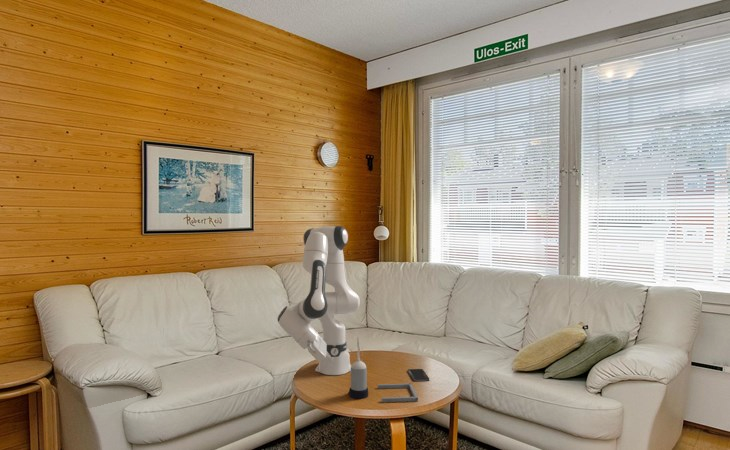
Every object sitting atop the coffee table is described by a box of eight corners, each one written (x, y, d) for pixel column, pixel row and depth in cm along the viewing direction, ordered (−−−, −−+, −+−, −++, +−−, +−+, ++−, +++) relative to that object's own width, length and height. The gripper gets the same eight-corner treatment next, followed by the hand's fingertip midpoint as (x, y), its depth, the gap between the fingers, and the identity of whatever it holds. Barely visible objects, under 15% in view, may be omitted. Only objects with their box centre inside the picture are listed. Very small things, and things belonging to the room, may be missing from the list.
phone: (413, 380, 210) (407, 369, 225) (413, 382, 210) (407, 371, 225) (430, 379, 211) (422, 368, 226) (430, 381, 211) (422, 371, 226)
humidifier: (346, 393, 196) (346, 335, 196) (364, 390, 199) (364, 333, 199) (352, 400, 189) (352, 340, 188) (370, 397, 191) (370, 338, 191)
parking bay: (377, 387, 202) (377, 384, 202) (411, 386, 204) (411, 383, 204) (381, 402, 187) (381, 398, 187) (417, 401, 188) (417, 397, 188)
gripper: (312, 339, 182) (337, 363, 182) (314, 327, 202) (336, 349, 203) (301, 350, 181) (326, 374, 182) (304, 337, 202) (326, 359, 202)
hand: (331, 361), depth 193 cm, fingers closed
